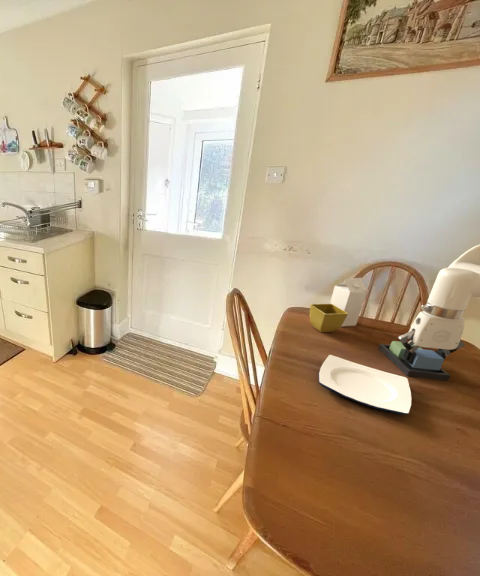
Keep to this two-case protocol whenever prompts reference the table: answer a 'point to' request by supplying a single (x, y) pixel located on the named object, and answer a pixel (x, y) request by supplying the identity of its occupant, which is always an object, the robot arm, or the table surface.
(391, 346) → the sage pad
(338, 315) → the flower pot
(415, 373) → the tray
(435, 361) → the blue block
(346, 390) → the plate
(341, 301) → the milk carton
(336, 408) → the table surface
